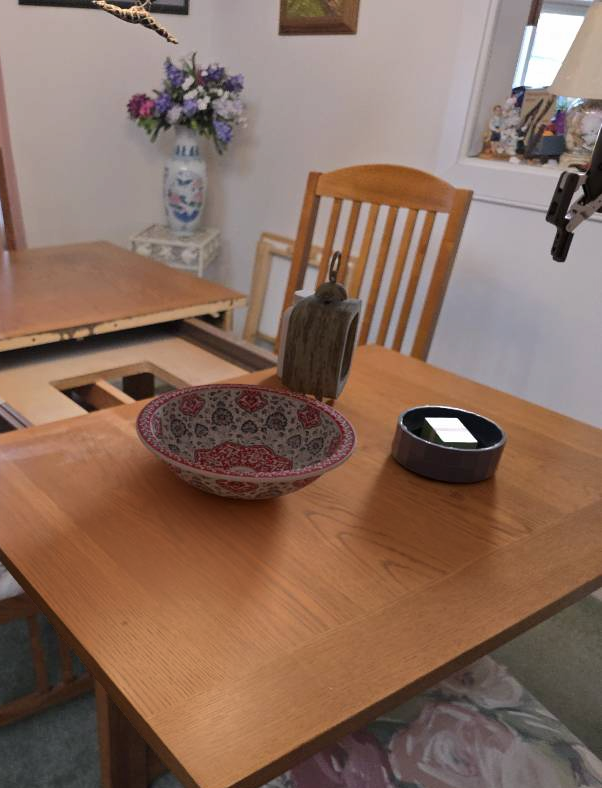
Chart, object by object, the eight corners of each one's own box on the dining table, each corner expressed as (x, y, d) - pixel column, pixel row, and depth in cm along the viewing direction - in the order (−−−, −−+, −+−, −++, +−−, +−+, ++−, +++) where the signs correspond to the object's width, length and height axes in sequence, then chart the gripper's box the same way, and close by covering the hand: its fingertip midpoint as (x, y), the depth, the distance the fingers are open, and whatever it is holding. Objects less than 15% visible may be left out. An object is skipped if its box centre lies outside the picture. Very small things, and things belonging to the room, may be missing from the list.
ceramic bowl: (90, 481, 95) (88, 426, 90) (217, 415, 115) (220, 368, 110) (274, 565, 81) (282, 506, 76) (382, 474, 101) (393, 422, 96)
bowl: (472, 439, 112) (481, 406, 109) (513, 486, 99) (525, 451, 96) (378, 437, 111) (385, 404, 108) (408, 485, 98) (417, 450, 95)
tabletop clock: (329, 428, 113) (357, 264, 99) (275, 417, 115) (294, 256, 101) (346, 396, 124) (372, 245, 110) (296, 387, 126) (315, 239, 112)
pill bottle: (327, 376, 131) (340, 294, 123) (302, 387, 126) (314, 302, 118) (292, 365, 136) (302, 285, 127) (267, 375, 131) (276, 292, 122)
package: (449, 445, 108) (457, 418, 106) (469, 470, 102) (478, 442, 99) (417, 444, 108) (424, 417, 105) (435, 470, 101) (443, 441, 99)
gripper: (597, 119, 80) (550, 267, 89) (715, 125, 81) (657, 271, 90) (565, 114, 86) (524, 254, 95) (675, 120, 87) (624, 257, 97)
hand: (589, 262), depth 93 cm, fingers open, 8 cm apart
